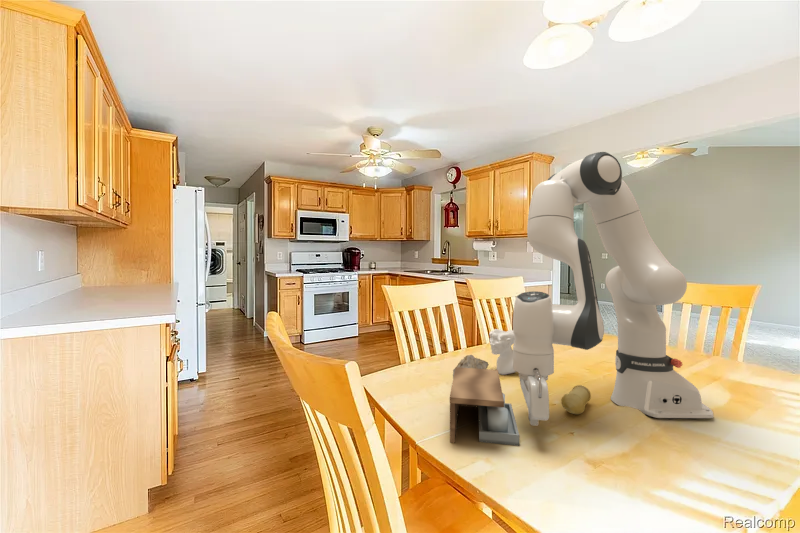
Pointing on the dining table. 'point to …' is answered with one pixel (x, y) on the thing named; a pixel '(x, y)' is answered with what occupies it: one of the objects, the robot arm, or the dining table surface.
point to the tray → (498, 437)
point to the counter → (473, 392)
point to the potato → (576, 399)
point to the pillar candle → (497, 419)
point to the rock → (471, 363)
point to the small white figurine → (503, 350)
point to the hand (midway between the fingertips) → (533, 422)
